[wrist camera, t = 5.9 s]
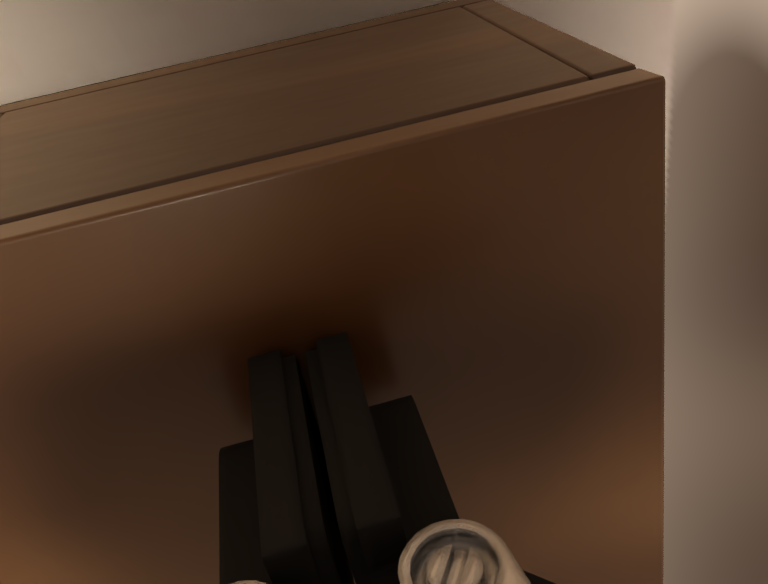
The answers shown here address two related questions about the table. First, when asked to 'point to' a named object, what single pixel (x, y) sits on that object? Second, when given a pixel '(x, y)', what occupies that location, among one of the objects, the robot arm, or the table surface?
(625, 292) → the lid
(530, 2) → the table surface
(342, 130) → the chest
